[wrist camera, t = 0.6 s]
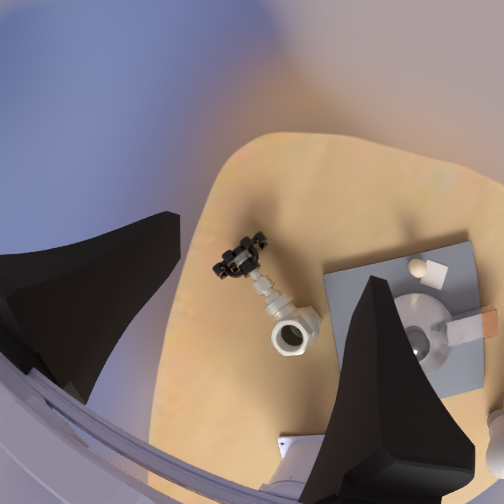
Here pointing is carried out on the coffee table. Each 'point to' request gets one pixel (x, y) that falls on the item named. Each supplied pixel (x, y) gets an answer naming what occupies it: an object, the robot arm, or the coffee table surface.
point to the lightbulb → (496, 443)
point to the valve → (272, 298)
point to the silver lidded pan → (441, 327)
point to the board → (428, 282)
